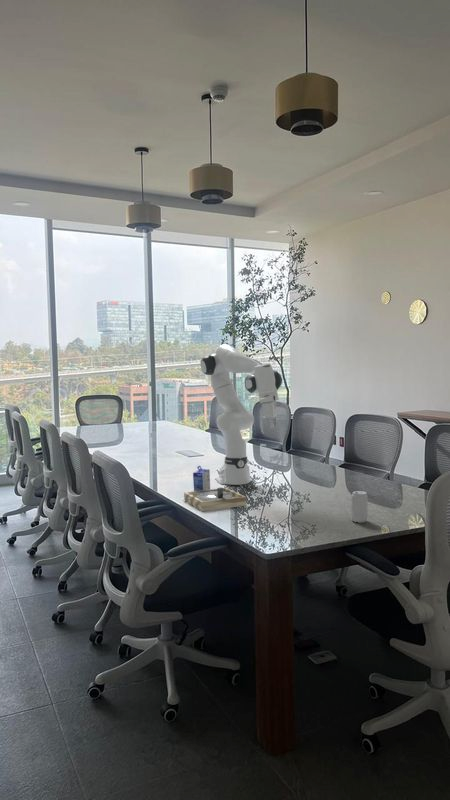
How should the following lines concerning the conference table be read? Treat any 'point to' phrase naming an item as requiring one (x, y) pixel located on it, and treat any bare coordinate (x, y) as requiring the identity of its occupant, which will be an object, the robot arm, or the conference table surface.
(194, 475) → the ink cartridge box
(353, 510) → the beverage can
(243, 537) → the conference table surface
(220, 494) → the dial
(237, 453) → the robot arm
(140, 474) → the conference table surface
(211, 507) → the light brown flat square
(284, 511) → the conference table surface
